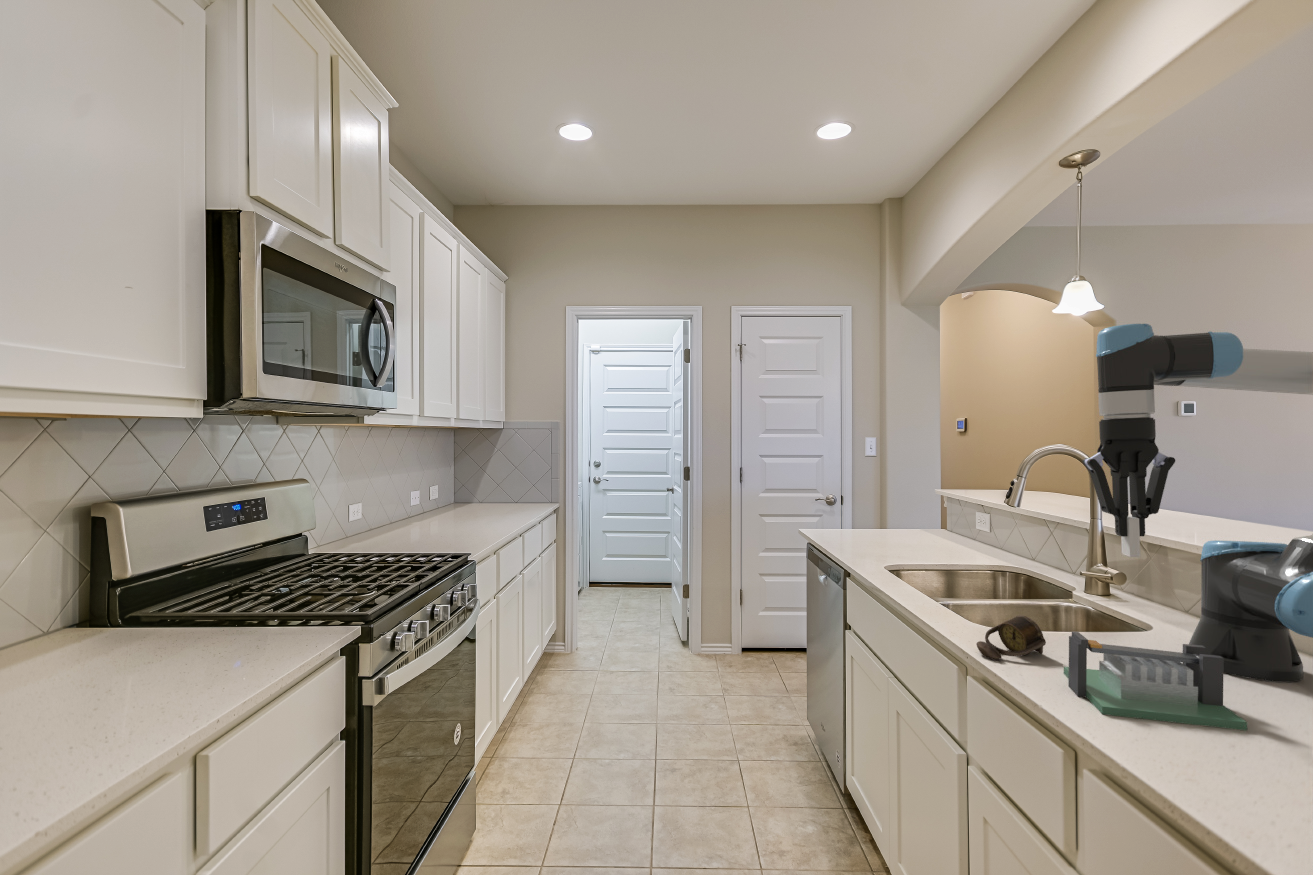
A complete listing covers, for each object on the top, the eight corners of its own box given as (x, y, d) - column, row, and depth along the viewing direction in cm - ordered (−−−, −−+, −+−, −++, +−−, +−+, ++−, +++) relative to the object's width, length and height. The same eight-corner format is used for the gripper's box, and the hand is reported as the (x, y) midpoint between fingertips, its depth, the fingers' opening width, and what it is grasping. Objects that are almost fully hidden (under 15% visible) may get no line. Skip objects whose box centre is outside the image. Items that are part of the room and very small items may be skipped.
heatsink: (1169, 684, 100) (1169, 652, 100) (1197, 706, 92) (1198, 671, 92) (1099, 677, 103) (1099, 646, 103) (1120, 698, 95) (1121, 664, 95)
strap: (1197, 659, 96) (1197, 651, 96) (1207, 665, 94) (1207, 657, 94) (1084, 647, 101) (1084, 639, 101) (1090, 652, 98) (1090, 644, 98)
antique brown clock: (1063, 636, 111) (1032, 609, 121) (993, 629, 112) (968, 602, 121) (1053, 670, 113) (1024, 640, 123) (985, 663, 113) (961, 634, 123)
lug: (1078, 687, 102) (1078, 631, 102) (1087, 697, 98) (1088, 639, 98) (1068, 686, 102) (1069, 631, 102) (1077, 696, 98) (1078, 639, 98)
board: (1184, 685, 103) (1184, 678, 103) (1247, 730, 87) (1247, 722, 87) (1063, 673, 108) (1063, 666, 108) (1102, 713, 92) (1102, 706, 92)
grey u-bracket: (1201, 690, 98) (1202, 645, 98) (1223, 705, 92) (1223, 657, 92) (1182, 688, 98) (1182, 643, 98) (1202, 703, 93) (1203, 656, 93)
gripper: (1158, 415, 104) (1162, 551, 105) (1073, 418, 107) (1077, 550, 108) (1185, 414, 97) (1189, 560, 97) (1093, 418, 100) (1097, 559, 100)
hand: (1130, 555), depth 102 cm, fingers closed
